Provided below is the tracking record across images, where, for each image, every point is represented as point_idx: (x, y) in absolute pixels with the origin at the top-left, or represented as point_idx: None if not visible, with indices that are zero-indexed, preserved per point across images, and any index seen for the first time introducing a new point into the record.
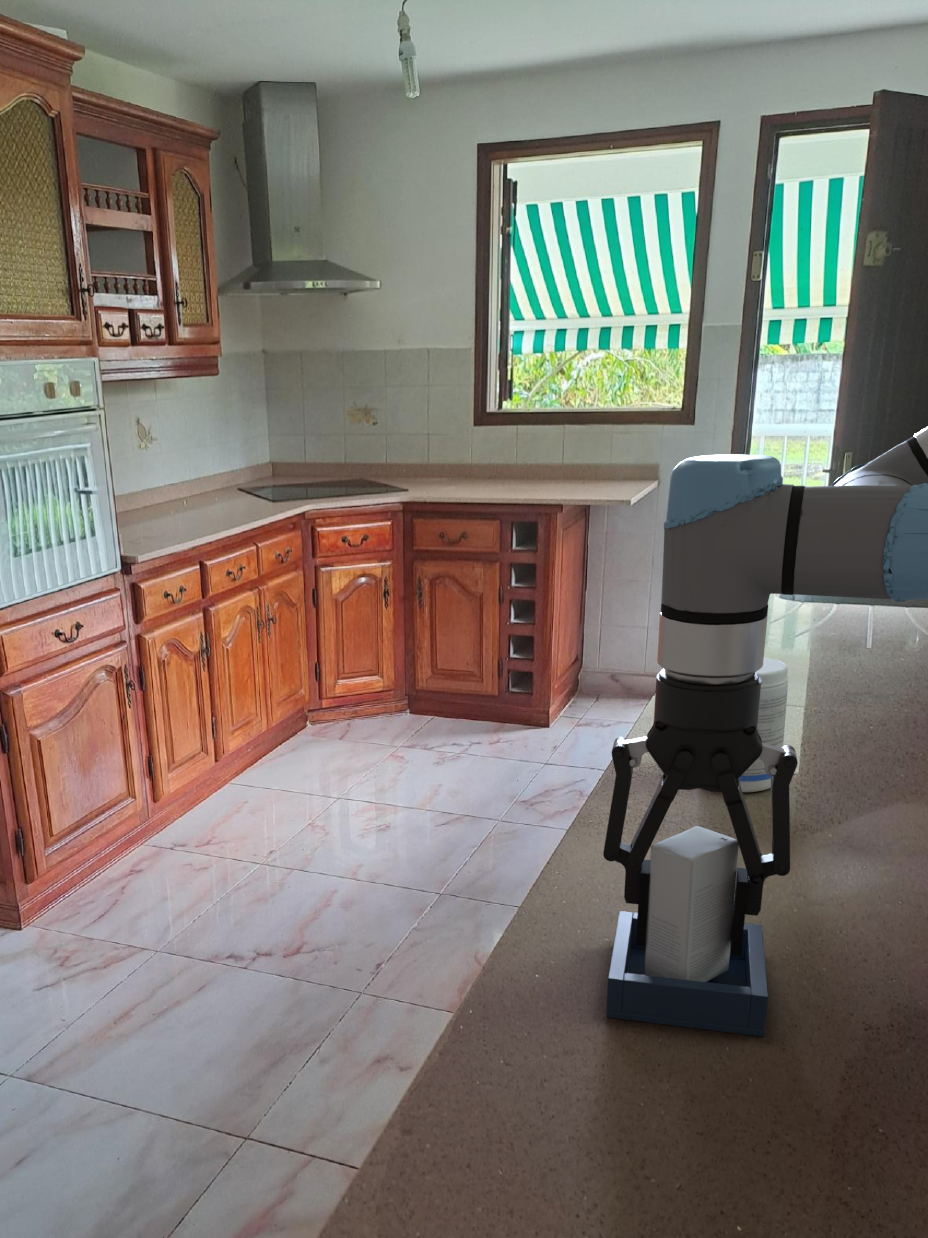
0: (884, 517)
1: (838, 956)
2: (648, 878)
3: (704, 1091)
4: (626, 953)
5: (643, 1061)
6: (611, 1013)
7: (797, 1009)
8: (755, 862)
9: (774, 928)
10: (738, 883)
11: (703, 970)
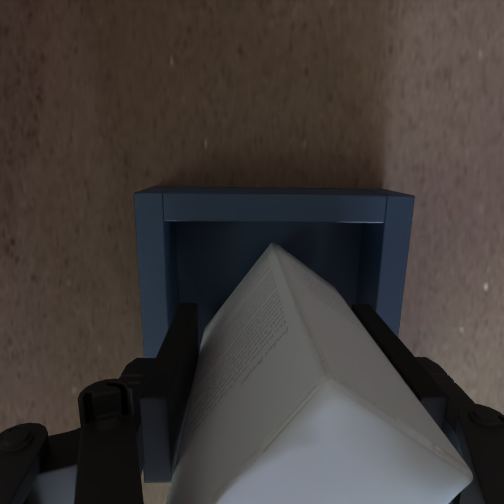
0: None
1: (55, 427)
2: (416, 386)
3: (238, 10)
4: (379, 291)
5: (329, 76)
6: (379, 189)
7: (107, 274)
8: (98, 451)
9: (143, 482)
10: (166, 394)
11: (244, 283)
